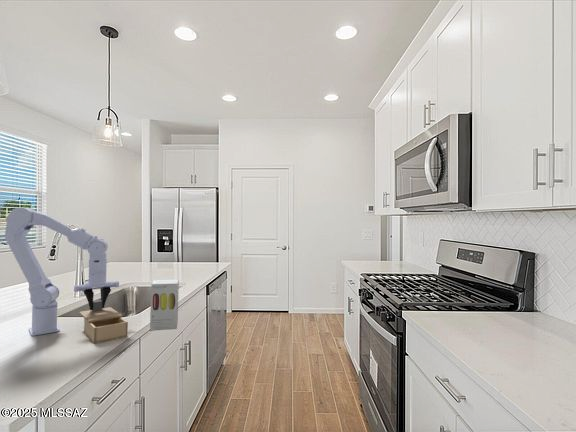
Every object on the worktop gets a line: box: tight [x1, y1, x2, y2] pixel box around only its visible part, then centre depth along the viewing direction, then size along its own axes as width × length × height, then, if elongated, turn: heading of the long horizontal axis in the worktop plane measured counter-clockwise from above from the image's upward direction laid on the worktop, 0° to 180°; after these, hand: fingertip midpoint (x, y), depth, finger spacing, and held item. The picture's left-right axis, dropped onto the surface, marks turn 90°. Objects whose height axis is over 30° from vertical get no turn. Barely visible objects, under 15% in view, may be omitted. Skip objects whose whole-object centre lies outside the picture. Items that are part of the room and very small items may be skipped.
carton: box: [83, 317, 129, 345], centre depth 115 cm, size 14×10×5 cm
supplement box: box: [149, 278, 180, 332], centre depth 125 cm, size 10×9×17 cm
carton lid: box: [78, 299, 123, 322], centre depth 120 cm, size 14×10×4 cm
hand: (96, 308), depth 124 cm, fingers closed on carton lid, 3 cm apart
